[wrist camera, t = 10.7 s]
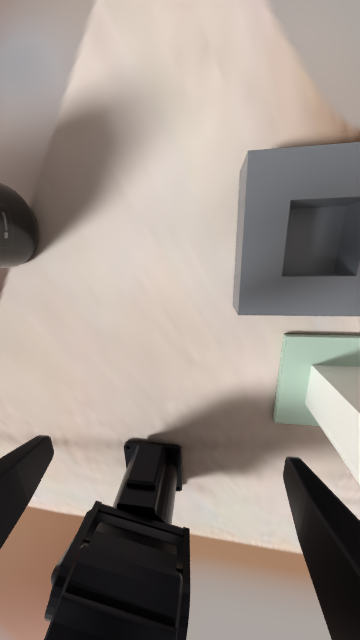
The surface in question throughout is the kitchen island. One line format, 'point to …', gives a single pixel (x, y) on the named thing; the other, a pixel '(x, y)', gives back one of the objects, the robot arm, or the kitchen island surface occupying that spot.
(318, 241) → the grey square socket block
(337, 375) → the plug
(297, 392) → the mat
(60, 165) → the kitchen island surface
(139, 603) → the robot arm
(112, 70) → the kitchen island surface
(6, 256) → the supplement bottle
